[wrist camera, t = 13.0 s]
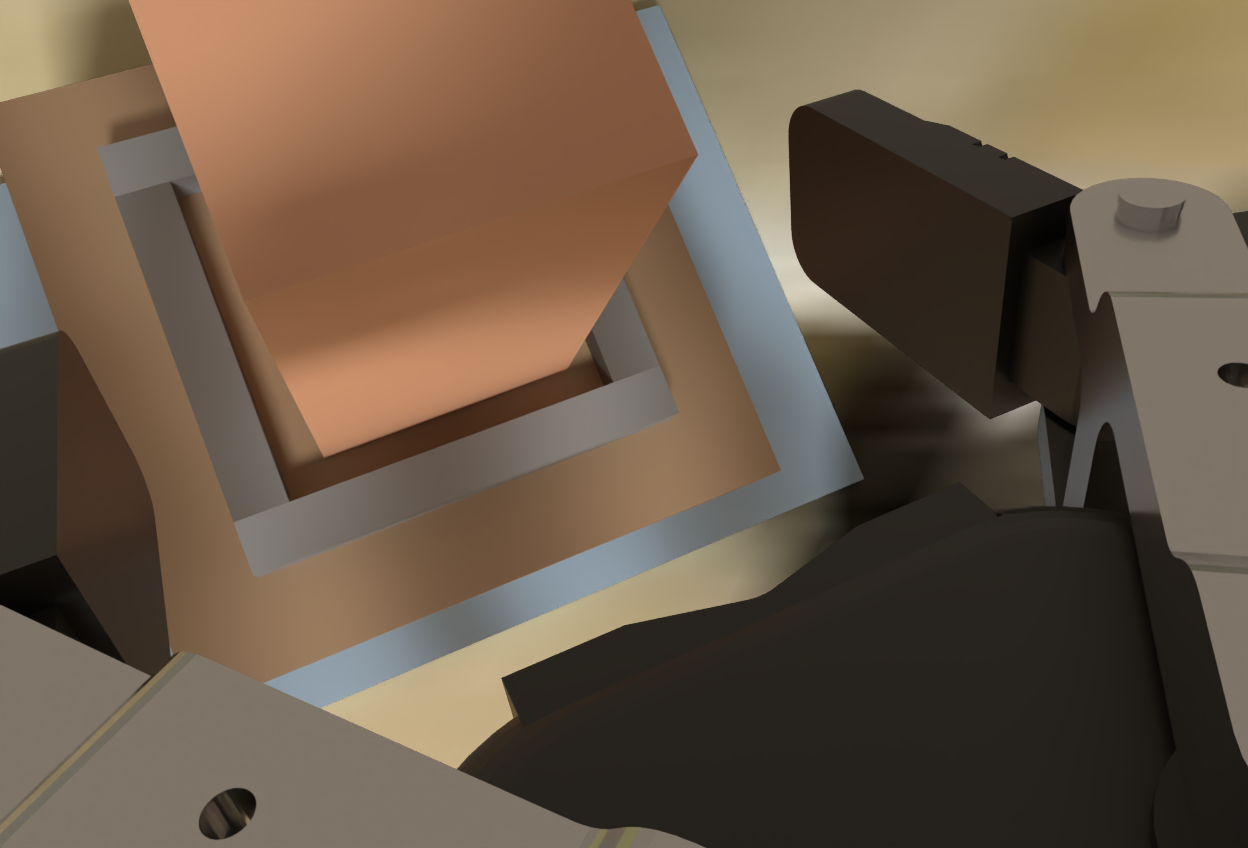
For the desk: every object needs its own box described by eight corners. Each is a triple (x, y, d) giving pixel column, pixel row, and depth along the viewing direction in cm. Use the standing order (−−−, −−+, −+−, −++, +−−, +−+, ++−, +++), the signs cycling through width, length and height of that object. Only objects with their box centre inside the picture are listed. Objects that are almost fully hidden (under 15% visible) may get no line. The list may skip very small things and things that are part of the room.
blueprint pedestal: (655, 13, 29) (719, -146, 23) (857, 480, 28) (981, 440, 22) (-127, 227, 24) (-303, 96, 18) (72, 811, 23) (-49, 877, 17)
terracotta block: (474, 147, 22) (527, -237, 12) (566, 369, 21) (698, 154, 11) (233, 220, 20) (73, -144, 11) (324, 458, 20) (244, 300, 10)
